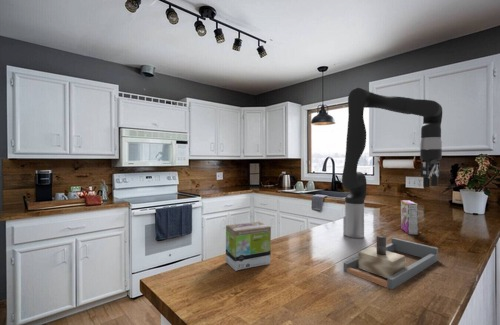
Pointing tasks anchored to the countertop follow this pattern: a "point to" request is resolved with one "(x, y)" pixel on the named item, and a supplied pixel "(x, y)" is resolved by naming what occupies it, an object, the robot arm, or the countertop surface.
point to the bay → (416, 249)
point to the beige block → (381, 260)
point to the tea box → (248, 245)
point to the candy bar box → (409, 217)
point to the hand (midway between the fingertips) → (430, 186)
